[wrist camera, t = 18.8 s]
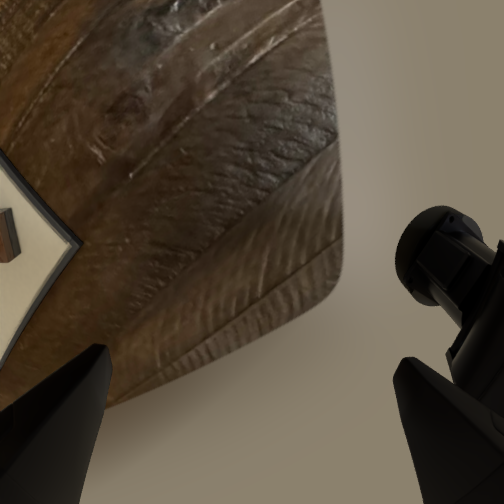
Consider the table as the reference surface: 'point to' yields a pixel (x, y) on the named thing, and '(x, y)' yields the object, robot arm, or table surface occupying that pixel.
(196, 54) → the table surface
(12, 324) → the whiteboard
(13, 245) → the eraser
